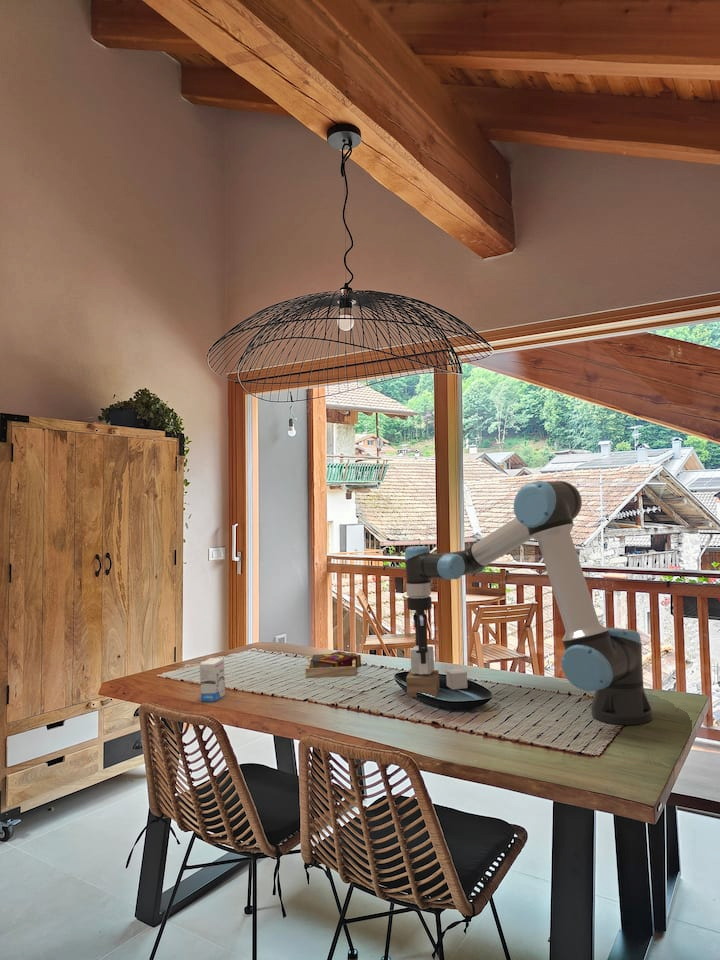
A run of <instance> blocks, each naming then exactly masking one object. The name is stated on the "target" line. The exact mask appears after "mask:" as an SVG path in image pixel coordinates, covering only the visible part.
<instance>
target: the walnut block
mask: <svg viewBox="0 0 720 960" xmlns="http://www.w3.org/2000/svg"><path fill="white" fill-rule="evenodd" d="M405 679H406V680H405V681H406V697H407V698H408V697H409V698H418V697H417V695H416V693H418V692H420V693H425V694H429V695H432V696H435V697H434V698H437V697H438V694H439V691H440V688H441V687H440V673H439V669H436V670H435V669H434V670H433V671H432V672H431V674H412V673H411V669H410V670H409V672H408V674H407V676H406V678H405Z"/></svg>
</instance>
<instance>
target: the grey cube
mask: <svg viewBox="0 0 720 960" xmlns="http://www.w3.org/2000/svg"><path fill="white" fill-rule="evenodd" d="M445 675H446V676H445V677H446V686H447V687H448V688H449V689H451V690H453V691H454V690H460V689H461V690H462V689H468V671H466V670H464V669H462V668H454V669H452V668H451V669H446V670H445Z"/></svg>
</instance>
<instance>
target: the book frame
mask: <svg viewBox="0 0 720 960" xmlns="http://www.w3.org/2000/svg"><path fill="white" fill-rule="evenodd" d="M349 653H350V654H357V652H349ZM330 654H331V653H320V654H319V653H317V654H310V656H309V658H308V661H307V664H306V667H305V678H306V679H307V678H314V679H315V678H329V677H330V678H331V677H332V678H333V677H353V676H354V677H355V676H356V671H357V667H356V659H355V660H353V662H352V666H348V667H325V668H313V662H311V659H314V658H320V657H323V655H330Z"/></svg>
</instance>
